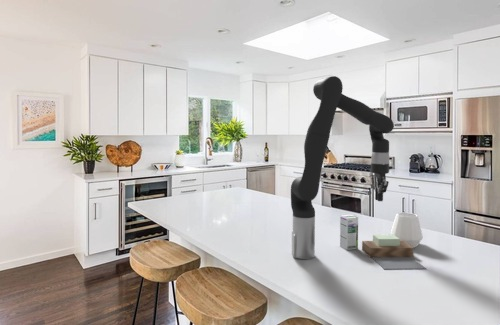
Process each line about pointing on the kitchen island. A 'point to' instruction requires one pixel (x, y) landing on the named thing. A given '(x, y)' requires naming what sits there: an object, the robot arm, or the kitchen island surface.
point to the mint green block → (386, 240)
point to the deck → (387, 250)
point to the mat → (398, 263)
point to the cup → (407, 228)
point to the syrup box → (349, 232)
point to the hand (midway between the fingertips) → (379, 200)
